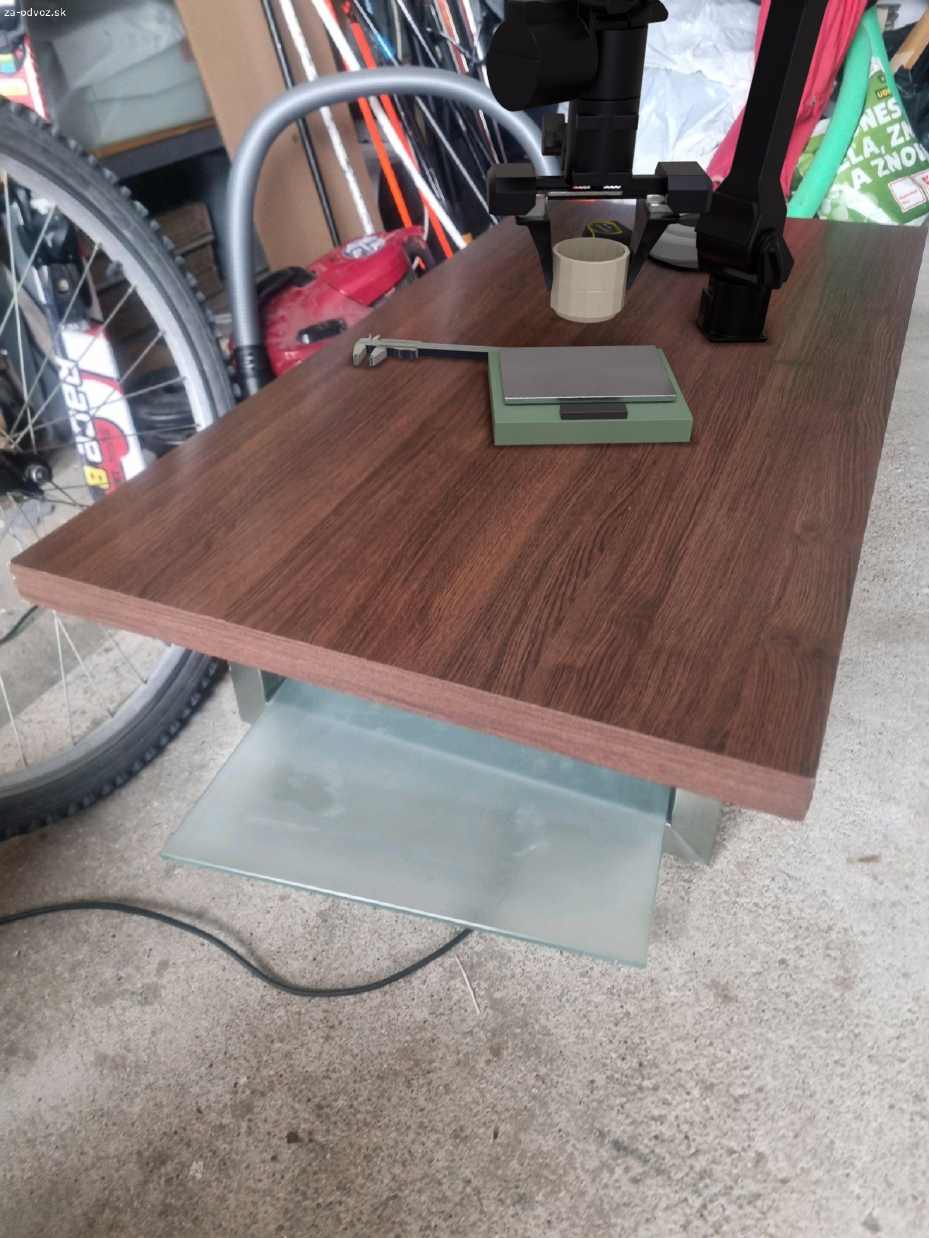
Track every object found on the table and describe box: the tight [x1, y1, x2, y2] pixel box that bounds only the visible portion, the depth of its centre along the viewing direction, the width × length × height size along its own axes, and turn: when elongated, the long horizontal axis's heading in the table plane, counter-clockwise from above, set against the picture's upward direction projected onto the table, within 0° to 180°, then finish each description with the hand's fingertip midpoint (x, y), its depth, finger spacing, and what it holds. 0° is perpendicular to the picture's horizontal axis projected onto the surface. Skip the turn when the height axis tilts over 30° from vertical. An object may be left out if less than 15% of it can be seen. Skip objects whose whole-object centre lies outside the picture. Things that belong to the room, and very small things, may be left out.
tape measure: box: [581, 220, 633, 249], centre depth 116 cm, size 7×7×4 cm
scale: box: [487, 348, 694, 446], centre depth 84 cm, size 18×15×3 cm
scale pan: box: [498, 344, 677, 404], centre depth 84 cm, size 16×11×1 cm
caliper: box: [352, 333, 506, 367], centre depth 94 cm, size 20×1×6 cm
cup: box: [549, 237, 630, 324], centre depth 79 cm, size 7×7×6 cm
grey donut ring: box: [648, 213, 700, 269], centre depth 114 cm, size 17×6×15 cm
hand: (588, 288), depth 80 cm, fingers closed on cup, 7 cm apart
